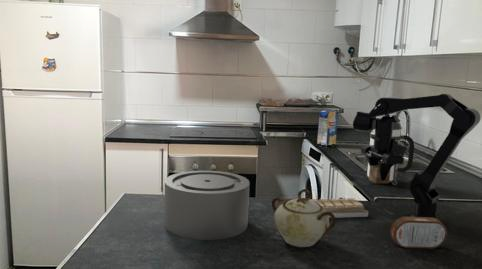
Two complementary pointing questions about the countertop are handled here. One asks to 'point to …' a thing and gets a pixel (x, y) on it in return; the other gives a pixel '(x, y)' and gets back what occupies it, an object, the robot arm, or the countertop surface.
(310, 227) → the sugar bowl
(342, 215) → the dock
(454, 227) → the countertop surface
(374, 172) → the brown wooden cube
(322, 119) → the beverage box
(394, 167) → the coffee press
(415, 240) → the tin
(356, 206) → the pallet
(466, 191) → the countertop surface
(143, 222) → the countertop surface
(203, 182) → the container
